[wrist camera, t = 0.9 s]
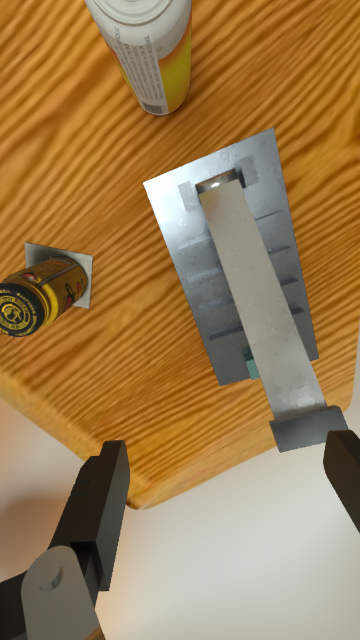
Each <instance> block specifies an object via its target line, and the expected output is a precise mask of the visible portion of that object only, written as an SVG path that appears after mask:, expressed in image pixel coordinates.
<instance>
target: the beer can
mask: <svg viewBox="0 0 360 640" xmlns="http://www.w3.org/2000/svg"><path fill="white" fill-rule="evenodd" d="M85 2H86V5H87V7H88V9H89V11H90V13H91V15H92V17H93V19H94V21H95V23H96V24H97V26H98V28H99V30H100V32H101V34H102V36H103V38H104V40H105V42H106V44H107V46H108V48H109V50H110V52H111V54H112V56H113V58H114V60H115V62H116V64H117V66H118V67H119V69H120V71H121V73H122V75H123V77H124V79H125V81H126V83H127V85H128V87H129V89H130V91H131V93H132V95H133V97H134V99H135V100H136V102H137V103H138V104H139V106H140V107H141V108H142V109H144V110H145V111H147V112H148V113H151V114H154V115H167V114H170V113H172V112H173V111H175V110H176V109H177V108H179V107H180V106H181V104H182V103H183V102H184V100H185V98H186V96H187V94H188V91H189V87H190V81H191V19H192V0H85Z"/></svg>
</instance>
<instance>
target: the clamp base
mask: <svg viewBox="0 0 360 640" xmlns="http://www.w3.org/2000/svg"><path fill="white" fill-rule="evenodd" d="M233 168H235V170H236V172H237V175H238V179H239V182H240V184H241V187H242V189H243V192H244V195H245V197H246V200H247V202H248V205H249V207H250V210H251V212H252V215H253V218H254V220H255V223H256V225H257V228H258V230H259V233H260V235H261V238H262V241H263V243H264V246H265V248H266V251H267V253H268V256H269V258H270V261H271V264H272V266H273V269H274V271H275V274H276V276H277V279H278V281H279V284H280V287H281V289H282V292H283V294H284V297H285V299H286V302H287V304H288V307H289V310H290V312H291V315H292V317H293V320H294V322H295V325H296V327H297V330H298V333H299V335H300V338H301V340H302V343H303V345H304V348H305V350H306V353H307V356H308V358H309V361H313V360H316V359H319V356H318V351H317V346H316V340H315V335H314V330H313V325H312V320H311V315H310V310H309V305H308V300H307V295H306V290H305V285H304V280H303V275H302V270H301V265H300V260H299V255H298V250H297V245H296V240H295V235H294V230H293V225H292V219H291V214H290V209H289V204H288V199H287V194H286V189H285V184H284V179H283V174H282V169H281V164H280V159H279V154H278V149H277V144H276V139H275V134H274V129H273V127H272V128H270V129H268V130H265V131H263V132H261V133H258V134H256V135H254V136H251V137H249V138H247V139H244V140H242V141H240V142H237V143H235V144H233V145H230V146H228V147H226V148H223V149H221V150H219V151H216V152H214V153H212V154H209V155H207V156H205V157H202V158H200V159H198V160H195V161H193V162H191V163H188V164H186V165H184V166H181V167H179V168H177V169H174V170H172V171H170V172H167V173H165V174H163V175H160V176H158V177H156V178H153V179H151V180H149V181H146V182H144V183H143V184H144V186H145V189H146V192H147V194H148V197H149V200H150V202H151V205H152V207H153V210H154V213H155V215H156V218H157V221H158V223H159V226H160V229H161V231H162V234H163V237H164V239H165V242H166V245H167V247H168V250H169V252H170V255H171V258H172V260H173V263H174V266H175V268H176V271H177V274H178V276H179V279H180V282H181V284H182V287H183V290H184V292H185V295H186V297H187V300H188V303H189V305H190V308H191V311H192V313H193V316H194V319H195V321H196V324H197V327H198V329H199V332H200V334H201V337H202V340H203V342H204V345H205V348H206V350H207V353H208V356H209V358H210V361H211V364H212V366H213V369H214V372H215V374H216V377H217V379H218V382H219V385H220V386H223V385H227V384H230V383H234V382H237V381H241V380H245V379H248V378H251V380H253V379H256V378H260V376H259V373H258V370H257V367H256V364H255V361H254V358H253V355H252V352H251V349H250V346H249V344H248V341H247V338H246V335H245V332H244V329H243V326H242V323H241V320H240V317H239V314H238V311H237V308H236V306H235V303H234V300H233V297H232V294H231V291H230V288H229V285H228V282H227V279H226V276H225V273H224V270H223V268H222V265H221V262H220V259H219V256H218V253H217V250H216V247H215V244H214V241H213V238H212V235H211V232H210V230H209V227H208V224H207V221H206V218H205V215H204V212H203V209H202V206H201V203H200V201H199V198H198V195H197V192H196V188H195V184H197V183H199V182H202V181H204V180H206V179H209V178H211V177H214V176H216V175H219V174H221V173H223V172H226V171H228V170H231V169H233Z"/></svg>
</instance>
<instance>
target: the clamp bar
mask: <svg viewBox="0 0 360 640" xmlns="http://www.w3.org/2000/svg"><path fill="white" fill-rule="evenodd" d="M195 188H196V192H197V195H198V198H199V201H200V203H201V206H202V209H203V212H204V215H205V218H206V221H207V224H208V227H209V230H210V232H211V235H212V238H213V241H214V244H215V247H216V250H217V253H218V256H219V259H220V262H221V265H222V268H223V270H224V273H225V276H226V279H227V282H228V285H229V288H230V291H231V294H232V297H233V300H234V303H235V306H236V308H237V311H238V314H239V317H240V320H241V323H242V326H243V329H244V332H245V335H246V338H247V341H248V344H249V346H250V349H251V352H252V355H253V358H254V361H255V364H256V367H257V370H258V373H259V376H260V379H261V382H262V384H263V387H264V390H265V393H266V396H267V399H268V402H269V405H270V408H271V411H272V414H273V417H274V420H273V421H269V423H270V426H271V429H272V432H273V435H274V438H275V441H276V444H277V447H278V449H279V452H285V451H289V450H294V449H298V448H302V447H307V446H311V445H316V444H320V443H324V442H326V439H327V433H328V432H329V431H331V430H349V429H348V426H347V424H346V421H345V419H344V416H343V414H342V411H341V409H340V407H338V406H335V405H333V406H329V407H327V404H326V402H325V399H324V396H323V394H322V391H321V389H320V386H319V384H318V381H317V379H316V376H315V373H314V371H313V368H312V366H311V363H310V361H309V358H308V356H307V353H306V350H305V348H304V345H303V343H302V340H301V338H300V335H299V333H298V330H297V327H296V325H295V322H294V320H293V317H292V315H291V312H290V310H289V307H288V304H287V302H286V299H285V297H284V294H283V292H282V289H281V287H280V284H279V281H278V279H277V276H276V274H275V271H274V269H273V266H272V264H271V261H270V258H269V256H268V253H267V251H266V248H265V246H264V243H263V241H262V238H261V235H260V233H259V230H258V228H257V225H256V223H255V220H254V218H253V215H252V212H251V210H250V207H249V205H248V202H247V200H246V197H245V195H244V192H243V189H242V187H241V184H240V182H239V179H238V175H237V172H236V170H235V168H233V169H231V170H228V171H226V172H223V173H221V174H219V175H216V176H214V177H211V178H209V179H206V180H204V181H202V182H199V183H197V184H195Z"/></svg>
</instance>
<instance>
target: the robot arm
mask: <svg viewBox="0 0 360 640" xmlns="http://www.w3.org/2000/svg"><path fill="white" fill-rule="evenodd" d="M323 465H324V469H325V473H326V475H327V477H328V479H329V481H330V483H331V484H332V486H333V488H334V490H335V491H336V493H337V495H338V497H339V498H340V500H341V502H342V504H343V505H344V507H345V509H346V511H347V512H348V514H349V516H350V517H351V519H352V521H353V523H354V524H355V526H356V528H357V530H358V531H359V533H360V439H359V438H358V437H357V435H356V434H355V433H354V432H353V431H352V430H331V431H329V432H328V433H327V439H326V445H325V451H324V459H323ZM129 482H130V467H129V462H128V456H127V450H126V444H125V441H124V440H114V441H105V442H104V444H103V446H102V449H101V452H100V455H99V456H90V458H89V459H88V460H87V461H86V462H85V464H84V465H83V466H82V467H81V469H80V471H79V474H78V476H77V479H76V481H75V484H74V486H73V488H72V491H71V495H70V496H69V498H68V501H67V503H66V506H65V508H64V511H63V513H62V516H61V518H60V521H59V523H58V526H57V528H56V531H55V533H54V536H53V538H52V541H51V543H50V545H49V547H48V549H47V550H46V551H45V552H44V553H43V554H41V555H40V556H39V557H38V558H37V559H36V560H35V561H34V562H33V563H32V565H31V566H30V567H29V569H28V570H26V571H25V572H24V573H22V574H19V575H17V576H15V577H13V578H10V579H8V580H5V581H3V582H1V583H0V640H106V639H105V637H104V634H103V632H102V629H101V626H100V623H99V621H98V618H97V615H96V612H95V605H96V600H97V595H98V591H109V588H110V583H111V577H112V572H113V567H114V562H115V556H116V551H117V546H118V541H119V536H120V530H121V525H122V520H123V514H124V510H125V504H126V499H127V494H128V489H129Z"/></svg>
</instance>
